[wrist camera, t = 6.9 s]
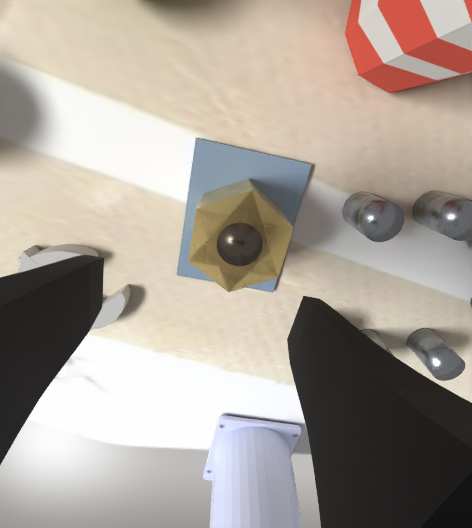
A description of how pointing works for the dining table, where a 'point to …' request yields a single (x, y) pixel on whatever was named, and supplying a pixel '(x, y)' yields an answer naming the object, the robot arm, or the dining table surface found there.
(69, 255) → the adjustable wrench
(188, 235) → the mat
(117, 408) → the dining table surface
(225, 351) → the dining table surface
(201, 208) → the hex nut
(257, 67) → the dining table surface
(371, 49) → the beverage can
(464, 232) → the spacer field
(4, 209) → the dining table surface
